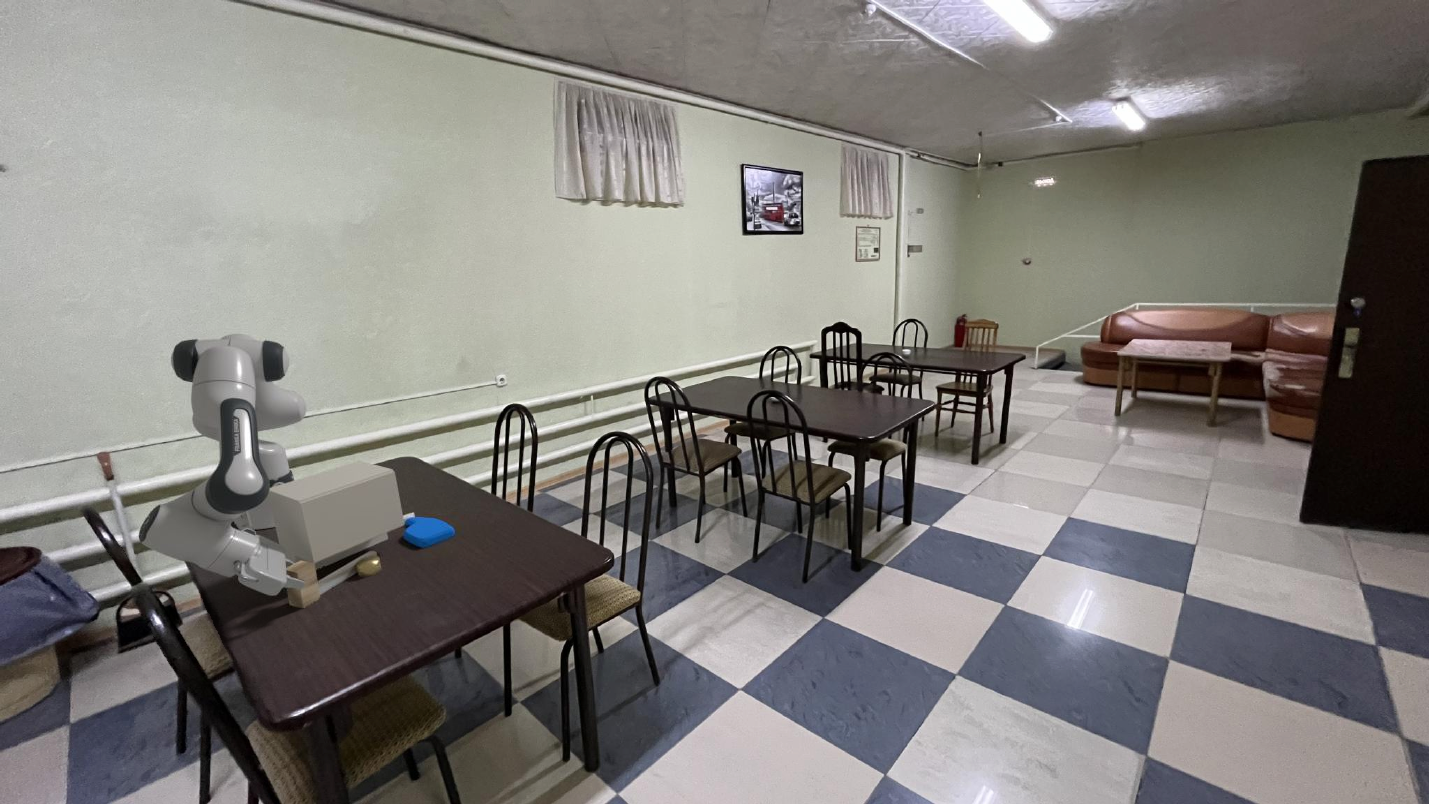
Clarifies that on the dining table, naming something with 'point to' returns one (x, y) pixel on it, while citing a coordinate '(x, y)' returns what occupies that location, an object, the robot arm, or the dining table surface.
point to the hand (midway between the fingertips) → (302, 579)
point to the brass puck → (368, 566)
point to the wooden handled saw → (315, 587)
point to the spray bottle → (426, 530)
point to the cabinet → (336, 512)
